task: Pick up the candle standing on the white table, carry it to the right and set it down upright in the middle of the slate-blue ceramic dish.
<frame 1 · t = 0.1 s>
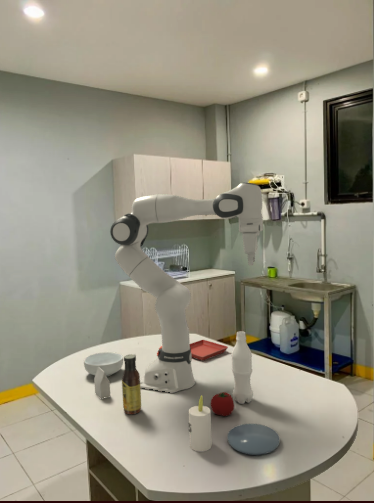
hand: (251, 263, 151), 48 cm above the table, tool pointing down, fingers open, 8 cm apart
sauce bottle: (132, 412, 140), on the table
tomato: (222, 413, 136), on the table
candle dish: (253, 441, 118), on the table
candle: (200, 446, 118), on the table
plant saucer: (202, 354, 196), on the table
cereal bowl: (104, 374, 175), on the table
water bottle: (242, 401, 145), on the table
small milk carton: (102, 395, 154), on the table
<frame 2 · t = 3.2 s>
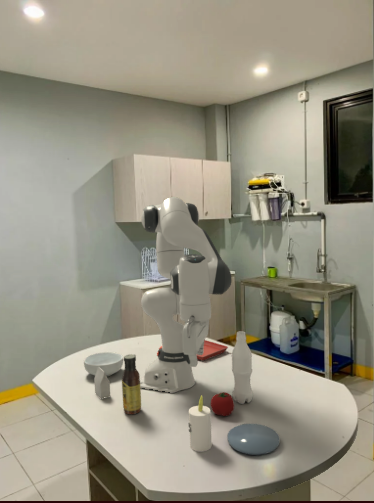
hand: (197, 359, 115), 26 cm above the table, tool pointing down, fingers open, 8 cm apart
nothing on the table moved.
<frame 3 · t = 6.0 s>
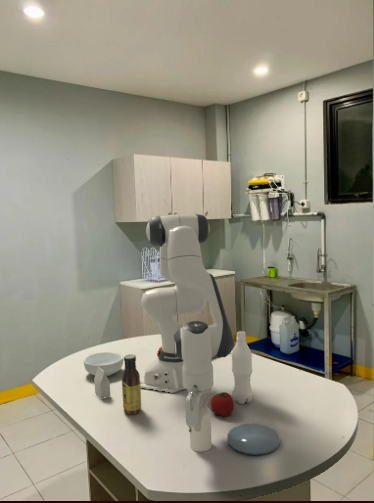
hand: (199, 425, 117), 6 cm above the table, tool pointing down, fingers closed on candle, 4 cm apart
candle: (200, 446, 118), on the table, touching gripper
everything else where it was.
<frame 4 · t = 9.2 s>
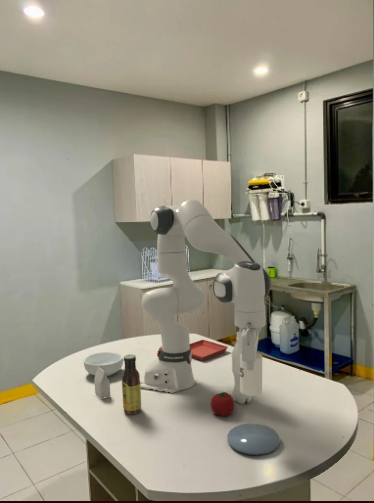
hand: (251, 365, 116), 23 cm above the table, tool pointing down, fingers closed on candle, 4 cm apart
candle: (250, 391, 117), point 15 cm above the table, touching gripper
everything else where it was.
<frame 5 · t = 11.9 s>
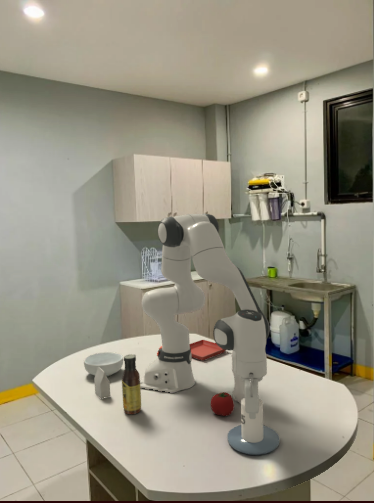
hand: (252, 413, 117), 9 cm above the table, tool pointing down, fingers closed on candle, 4 cm apart
candle: (252, 437, 118), point 1 cm above the table, touching candle dish, gripper
everything else where it was.
when the fingers open (9 cm above the table, at t = 12.6 s): candle stays where it is, resting on candle dish.
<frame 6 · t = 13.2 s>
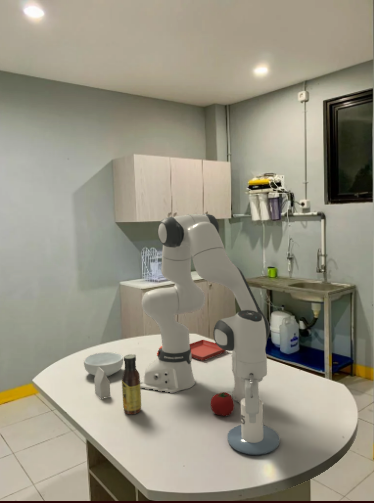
hand: (252, 413, 117), 9 cm above the table, tool pointing down, fingers open, 8 cm apart
candle: (252, 437, 118), point 1 cm above the table, touching candle dish
everything else where it was.
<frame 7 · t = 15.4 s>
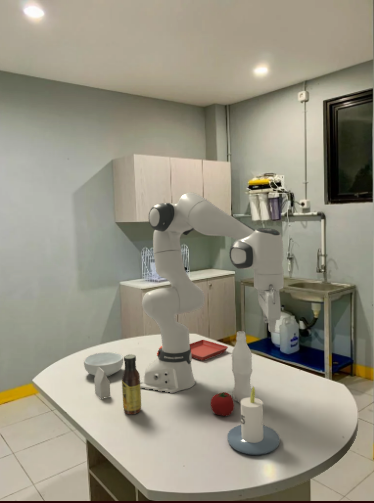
hand: (269, 326, 123), 32 cm above the table, tool pointing down, fingers open, 8 cm apart
nothing on the table moved.
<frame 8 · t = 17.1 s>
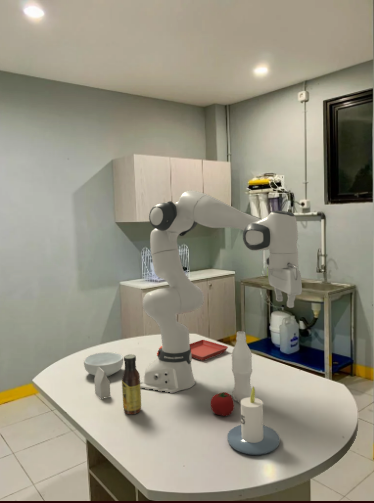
hand: (284, 304, 130), 37 cm above the table, tool pointing down, fingers open, 8 cm apart
nothing on the table moved.
at the end: candle inside the target area on the candle dish (0.3 cm from its centre), point 1.4 cm above the candle dish's base; candle tilted 0°; the gripper is holding nothing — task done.
